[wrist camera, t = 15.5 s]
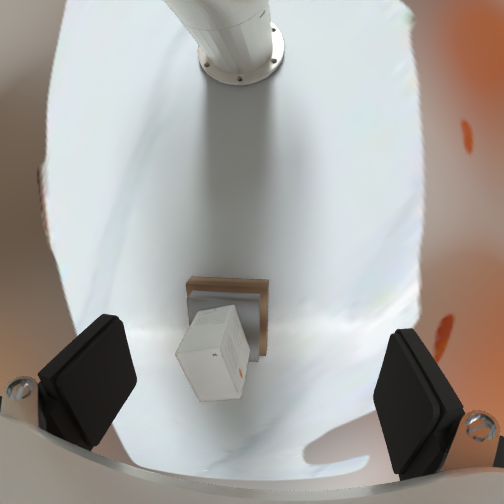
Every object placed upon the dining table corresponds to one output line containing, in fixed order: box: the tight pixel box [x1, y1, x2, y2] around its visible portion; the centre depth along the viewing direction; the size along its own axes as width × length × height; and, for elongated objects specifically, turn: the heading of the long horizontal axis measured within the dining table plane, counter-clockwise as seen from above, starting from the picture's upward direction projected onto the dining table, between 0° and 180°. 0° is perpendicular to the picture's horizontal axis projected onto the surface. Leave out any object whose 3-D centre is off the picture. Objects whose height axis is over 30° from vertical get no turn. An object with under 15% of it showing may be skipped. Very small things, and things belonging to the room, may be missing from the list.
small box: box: [175, 305, 250, 401], centre depth 35 cm, size 8×6×10 cm
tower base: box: [186, 277, 269, 362], centre depth 43 cm, size 12×12×6 cm
